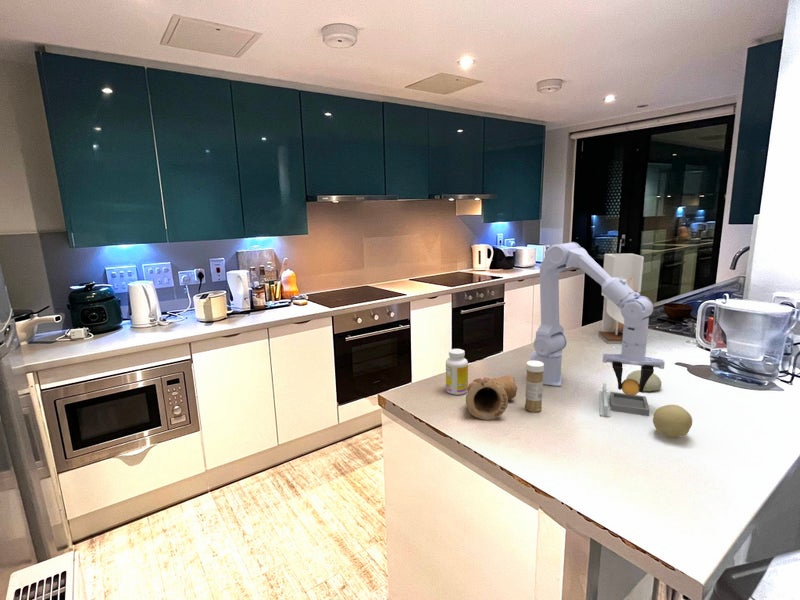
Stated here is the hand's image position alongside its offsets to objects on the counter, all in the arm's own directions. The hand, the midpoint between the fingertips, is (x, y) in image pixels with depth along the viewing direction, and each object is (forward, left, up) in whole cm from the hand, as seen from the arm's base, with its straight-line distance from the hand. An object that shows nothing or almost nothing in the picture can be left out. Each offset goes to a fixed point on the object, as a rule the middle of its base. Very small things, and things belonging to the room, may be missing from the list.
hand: (630, 389), depth 116 cm
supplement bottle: (-47, -7, -5) cm, 48 cm away
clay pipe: (-35, -15, -5) cm, 38 cm away
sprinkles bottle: (-24, -11, -5) cm, 27 cm away
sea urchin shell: (+5, +16, -5) cm, 17 cm away
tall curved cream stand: (0, +65, -5) cm, 65 cm away
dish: (0, 0, -5) cm, 5 cm away
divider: (-6, -1, -5) cm, 8 cm away
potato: (+8, -14, -5) cm, 17 cm away
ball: (0, 0, +1) cm, 1 cm away
